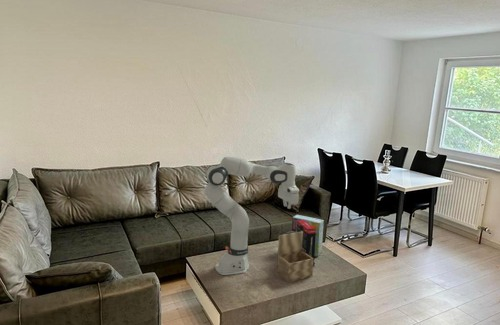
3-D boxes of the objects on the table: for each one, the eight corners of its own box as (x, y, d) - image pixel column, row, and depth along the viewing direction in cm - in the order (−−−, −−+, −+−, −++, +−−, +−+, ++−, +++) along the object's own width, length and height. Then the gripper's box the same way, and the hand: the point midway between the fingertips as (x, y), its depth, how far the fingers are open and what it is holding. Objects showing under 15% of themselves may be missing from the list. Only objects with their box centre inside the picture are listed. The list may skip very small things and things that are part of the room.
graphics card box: (314, 266, 235) (317, 228, 230) (305, 267, 233) (307, 229, 228) (303, 255, 251) (305, 219, 246) (294, 256, 249) (296, 220, 244)
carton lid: (279, 236, 221) (275, 233, 225) (278, 254, 224) (274, 251, 228) (302, 231, 229) (298, 229, 233) (301, 250, 232) (297, 247, 236)
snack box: (322, 253, 255) (324, 219, 250) (317, 257, 248) (320, 223, 243) (295, 245, 266) (296, 213, 261) (290, 250, 259) (291, 216, 254)
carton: (288, 282, 215) (289, 264, 212) (277, 272, 226) (278, 255, 224) (312, 276, 222) (313, 258, 220) (300, 267, 234) (301, 250, 232)
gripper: (276, 183, 238) (275, 203, 241) (292, 191, 220) (291, 212, 223) (283, 183, 241) (283, 202, 244) (300, 190, 223) (299, 211, 226)
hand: (287, 207), depth 233 cm, fingers open, 3 cm apart
